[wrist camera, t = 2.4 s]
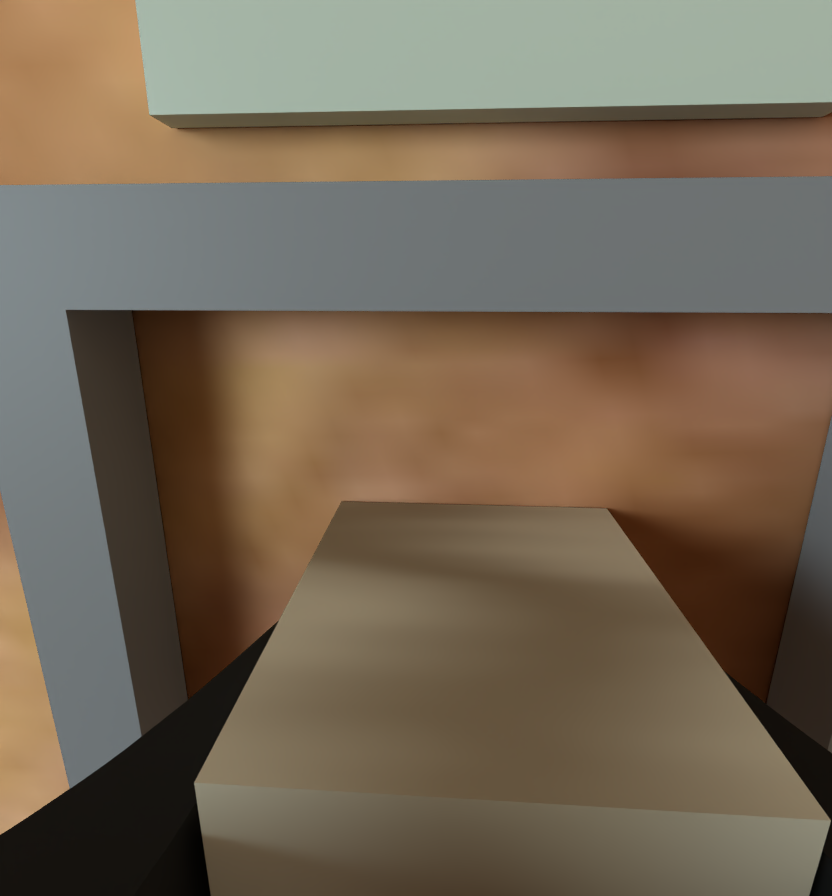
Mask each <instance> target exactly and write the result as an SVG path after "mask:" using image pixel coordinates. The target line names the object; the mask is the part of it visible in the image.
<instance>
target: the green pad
mask: <svg viewBox="0 0 832 896" xmlns="http://www.w3.org/2000/svg"><path fill="white" fill-rule="evenodd" d="M135 1H136V9H137V17H138V25H139V34H140V42H141V50H142V58H143V66H144V74H145V82H146V91H147V99H148V107H149V115H150V116H152V117H154V118H156V119H157V120H159V121H161V122H162V123H164V124H166V125H168V126H169V127H171V128H210V127H268V126H326V125H384V124H442V123H501V122H559V121H617V120H675V119H733V118H792V117H823V116H825V115H827V114H829V113H831V112H832V0H135Z"/></svg>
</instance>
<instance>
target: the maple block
mask: <svg viewBox="0 0 832 896" xmlns="http://www.w3.org/2000/svg"><path fill="white" fill-rule="evenodd" d="M194 785H195V792H196V799H197V806H198V812H199V819H200V826H201V833H202V839H203V846H204V853H205V860H206V866H207V873H208V880H209V887H210V893H211V896H809V894H810V891H811V888H812V884H813V881H814V877H815V874H816V870H817V867H818V864H819V860H820V857H821V853H822V850H823V846H824V843H825V840H826V836H827V833H828V829H829V826H830V822H831V820H830V819H829V817H828V816H827V814H826V813H825V812H824V810H823V809H822V807H821V806H820V805H819V803H818V802H817V800H816V799H815V798H814V796H813V795H812V794H811V792H810V791H809V789H808V788H807V787H806V785H805V784H804V782H803V781H802V780H801V778H800V777H799V775H798V774H797V773H796V771H795V770H794V768H793V767H792V766H791V764H790V763H789V761H788V760H787V759H786V757H785V756H784V754H783V753H782V752H781V750H780V749H779V748H778V746H777V745H776V743H775V742H774V741H773V739H772V738H771V736H770V735H769V734H768V732H767V731H766V729H765V728H764V727H763V725H762V724H761V722H760V721H759V720H758V718H757V717H756V715H755V714H754V713H753V711H752V710H751V709H750V707H749V706H748V704H747V703H746V702H745V700H744V699H743V697H742V696H741V695H740V693H739V692H738V690H737V689H736V688H735V686H734V685H733V683H732V682H731V681H730V679H729V678H728V676H727V675H726V674H725V672H724V671H723V670H722V668H721V667H720V665H719V664H718V663H717V661H716V660H715V658H714V657H713V656H712V654H711V653H710V651H709V650H708V649H707V647H706V646H705V644H704V643H703V642H702V640H701V639H700V637H699V636H698V635H697V633H696V632H695V631H694V629H693V628H692V626H691V625H690V624H689V622H688V621H687V619H686V618H685V617H684V615H683V614H682V612H681V611H680V610H679V608H678V607H677V605H676V604H675V603H674V601H673V600H672V598H671V597H670V596H669V594H668V593H667V592H666V590H665V589H664V587H663V586H662V585H661V583H660V582H659V580H658V579H657V578H656V576H655V575H654V573H653V572H652V571H651V569H650V568H649V566H648V565H647V564H646V562H645V561H644V559H643V558H642V557H641V555H640V554H639V553H638V551H637V550H636V548H635V547H634V546H633V544H632V543H631V541H630V540H629V539H628V537H627V536H626V534H625V533H624V532H623V530H622V529H621V527H620V526H619V525H618V523H617V522H616V520H615V519H614V518H613V516H612V515H611V514H610V512H609V511H608V509H607V508H573V507H534V506H496V505H458V504H419V503H381V502H343V501H341V503H340V505H339V507H338V509H337V511H336V513H335V515H334V517H333V519H332V520H331V522H330V524H329V526H328V528H327V530H326V532H325V534H324V536H323V538H322V540H321V541H320V543H319V545H318V547H317V549H316V551H315V553H314V555H313V557H312V559H311V561H310V562H309V564H308V566H307V568H306V570H305V572H304V574H303V576H302V578H301V580H300V582H299V583H298V585H297V587H296V589H295V591H294V593H293V595H292V597H291V599H290V601H289V603H288V604H287V606H286V608H285V610H284V612H283V614H282V616H281V618H280V620H279V622H278V624H277V626H276V627H275V629H274V631H273V633H272V635H271V637H270V639H269V641H268V643H267V645H266V647H265V648H264V650H263V652H262V654H261V656H260V658H259V660H258V662H257V664H256V666H255V668H254V669H253V671H252V673H251V675H250V677H249V679H248V681H247V683H246V685H245V687H244V689H243V690H242V692H241V694H240V696H239V698H238V700H237V702H236V704H235V706H234V708H233V710H232V711H231V713H230V715H229V717H228V719H227V721H226V723H225V725H224V727H223V729H222V731H221V732H220V734H219V736H218V738H217V740H216V742H215V744H214V746H213V748H212V750H211V752H210V753H209V755H208V757H207V759H206V761H205V763H204V765H203V767H202V769H201V771H200V773H199V774H198V776H197V778H196V780H195V782H194Z"/></svg>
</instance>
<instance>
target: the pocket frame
mask: <svg viewBox="0 0 832 896" xmlns="http://www.w3.org/2000/svg"><path fill="white" fill-rule="evenodd" d="M132 310H242V311H485V312H727V313H832V176H824V177H731V178H638V179H544V180H451V181H357V182H264V183H171V184H77V185H0V491H1V496H2V500H3V504H4V509H5V513H6V517H7V521H8V526H9V530H10V534H11V539H12V543H13V547H14V551H15V556H16V560H17V564H18V569H19V573H20V577H21V581H22V586H23V590H24V594H25V599H26V603H27V607H28V611H29V616H30V620H31V624H32V629H33V633H34V637H35V641H36V646H37V650H38V654H39V659H40V663H41V667H42V671H43V676H44V680H45V684H46V688H47V693H48V697H49V701H50V706H51V710H52V714H53V718H54V723H55V727H56V731H57V736H58V740H59V744H60V748H61V753H62V757H63V761H64V766H65V770H66V774H67V778H68V783H69V787H70V788H72V787H73V786H75V785H76V784H78V783H79V782H81V781H82V780H84V779H85V778H86V777H88V776H89V775H91V774H92V773H93V772H95V771H96V770H98V769H99V768H100V767H102V766H103V765H105V764H106V763H107V762H109V761H110V760H111V759H113V758H114V757H115V756H117V755H118V754H120V753H121V752H122V751H124V750H125V749H126V748H128V747H129V746H130V745H131V744H133V743H134V742H135V741H136V740H138V739H139V738H140V737H141V736H143V735H144V734H145V733H147V732H148V731H149V730H150V729H152V728H153V727H154V726H155V725H157V724H158V723H159V722H161V721H162V720H163V719H164V718H166V717H167V716H168V715H169V714H171V713H172V712H173V711H175V710H176V709H177V708H178V707H180V706H181V705H182V704H183V703H185V702H186V701H187V700H188V698H187V691H186V684H185V677H184V670H183V663H182V656H181V649H180V642H179V635H178V628H177V621H176V615H175V608H174V601H173V594H172V587H171V580H170V573H169V566H168V559H167V552H166V545H165V538H164V531H163V524H162V518H161V511H160V504H159V497H158V490H157V483H156V476H155V469H154V462H153V455H152V448H151V441H150V434H149V427H148V421H147V414H146V407H145V400H144V393H143V386H142V379H141V372H140V365H139V358H138V351H137V344H136V337H135V330H134V324H133V317H132ZM766 704H767V705H768V706H769V707H771V708H772V709H773V710H775V711H776V712H777V713H779V714H780V715H781V716H783V717H784V718H785V719H786V720H788V721H789V722H790V723H792V724H793V725H794V726H796V727H797V728H798V729H800V730H801V731H802V732H804V733H805V734H806V735H808V736H809V737H811V738H812V739H813V740H815V741H816V742H817V743H819V744H820V745H821V746H823V747H824V748H826V749H827V750H828V751H830V752H831V753H832V417H831V422H830V426H829V431H828V435H827V439H826V444H825V448H824V453H823V457H822V461H821V466H820V470H819V475H818V479H817V483H816V488H815V492H814V496H813V501H812V505H811V510H810V514H809V518H808V523H807V527H806V532H805V536H804V540H803V545H802V549H801V554H800V558H799V562H798V567H797V571H796V576H795V580H794V584H793V589H792V593H791V597H790V602H789V606H788V611H787V615H786V619H785V624H784V628H783V633H782V637H781V641H780V646H779V650H778V655H777V659H776V663H775V668H774V672H773V677H772V681H771V685H770V690H769V694H768V698H767V703H766Z"/></svg>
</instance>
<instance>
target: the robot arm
mask: <svg viewBox="0 0 832 896" xmlns="http://www.w3.org/2000/svg"><path fill="white" fill-rule="evenodd" d="M278 622H279V621H278ZM278 622H277V623H276V624H275V625H273V626H272V627H271V628H270V629H269V630H268V631H267V632H265V633H264V634H263V635H262V636H261V637H260V638H259V639H258V640H256V641H255V642H254V643H253V644H252V645H251V646H250V647H249V648H248V649H246V650H245V651H244V652H243V653H242V654H241V655H240V656H238V657H237V658H236V659H235V660H234V661H233V662H232V663H231V664H229V665H228V666H227V667H226V668H225V669H224V670H223V671H221V672H220V673H219V674H218V675H217V676H216V677H214V678H213V679H212V680H211V681H210V682H209V683H207V684H206V685H205V686H204V687H203V688H202V689H200V690H199V691H198V692H197V693H196V694H194V695H193V696H192V697H191V698H190V699H188V700H187V701H186V702H185V703H183V704H182V705H181V706H180V707H178V708H177V709H176V710H175V711H173V712H172V713H171V714H169V715H168V716H167V717H166V718H164V719H163V720H162V721H161V722H159V723H158V724H157V725H155V726H154V727H153V728H152V729H150V730H149V731H148V732H147V733H145V734H144V735H143V736H141V737H140V738H139V739H138V740H136V741H135V742H134V743H133V744H131V745H130V746H129V747H128V748H126V749H125V750H124V751H122V752H121V753H120V754H118V755H117V756H115V757H114V758H113V759H111V760H110V761H109V762H107V763H106V764H105V765H103V766H102V767H100V768H99V769H98V770H96V771H95V772H93V773H92V774H91V775H89V776H88V777H86V778H85V779H84V780H82V781H81V782H79V783H78V784H76V785H75V786H73V787H72V788H70V789H69V790H67V791H66V792H64V793H63V794H62V795H60V796H59V797H57V798H56V799H54V800H53V801H51V802H50V803H48V804H47V805H45V806H44V807H42V808H41V809H39V810H38V811H36V812H35V813H34V814H32V815H31V816H29V817H28V818H26V819H24V820H23V821H21V822H20V823H18V824H17V825H15V826H14V827H12V828H11V829H9V830H8V831H6V832H4V833H3V834H1V835H0V896H211V893H210V887H209V880H208V873H207V866H206V860H205V853H204V846H203V839H202V833H201V826H200V819H199V812H198V806H197V799H196V792H195V785H194V782H195V780H196V778H197V776H198V774H199V773H200V771H201V769H202V767H203V765H204V763H205V761H206V759H207V757H208V755H209V753H210V752H211V750H212V748H213V746H214V744H215V742H216V740H217V738H218V736H219V734H220V732H221V731H222V729H223V727H224V725H225V723H226V721H227V719H228V717H229V715H230V713H231V711H232V710H233V708H234V706H235V704H236V702H237V700H238V698H239V696H240V694H241V692H242V690H243V689H244V687H245V685H246V683H247V681H248V679H249V677H250V675H251V673H252V671H253V669H254V668H255V666H256V664H257V662H258V660H259V658H260V656H261V654H262V652H263V650H264V648H265V647H266V645H267V643H268V641H269V639H270V637H271V635H272V633H273V631H274V629H275V627H276V626H277V624H278ZM724 672H725V671H724ZM725 674H726V675H727V676H728V678H729V679H730V681H731V682H732V683H733V685H734V686H735V688H736V689H737V690H738V692H739V693H740V695H741V696H742V697H743V699H744V700H745V702H746V703H747V704H748V706H749V707H750V709H751V710H752V711H753V713H754V714H755V715H756V717H757V718H758V720H759V721H760V722H761V724H762V725H763V727H764V728H765V729H766V731H767V732H768V734H769V735H770V736H771V738H772V739H773V741H774V742H775V743H776V745H777V746H778V748H779V749H780V750H781V752H782V753H783V754H784V756H785V757H786V759H787V760H788V761H789V763H790V764H791V766H792V767H793V768H794V770H795V771H796V773H797V774H798V775H799V777H800V778H801V780H802V781H803V782H804V784H805V785H806V787H807V788H808V789H809V791H810V792H811V794H812V795H813V796H814V798H815V799H816V800H817V802H818V803H819V805H820V806H821V807H822V809H823V810H824V812H825V813H826V814H827V816H828V817H829V819H830V820H831V822H830V826H829V829H828V833H827V836H826V840H825V843H824V846H823V850H822V853H821V857H820V860H819V864H818V867H817V870H816V874H815V877H814V881H813V884H812V888H811V891H810V894H809V896H832V753H831V752H830V751H828V750H827V749H826V748H824V747H823V746H821V745H820V744H819V743H817V742H816V741H815V740H813V739H812V738H811V737H809V736H808V735H806V734H805V733H804V732H802V731H801V730H800V729H798V728H797V727H796V726H794V725H793V724H792V723H790V722H789V721H788V720H786V719H785V718H784V717H783V716H781V715H780V714H779V713H777V712H776V711H775V710H773V709H772V708H771V707H769V706H768V705H767V704H766V703H764V702H763V701H762V700H760V699H759V698H758V697H757V696H755V695H754V694H753V693H751V692H750V691H749V690H748V689H746V688H745V687H744V686H742V685H741V684H740V683H739V682H737V681H736V680H735V679H733V678H732V677H731V676H730V675H728V674H727V673H726V672H725Z"/></svg>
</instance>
